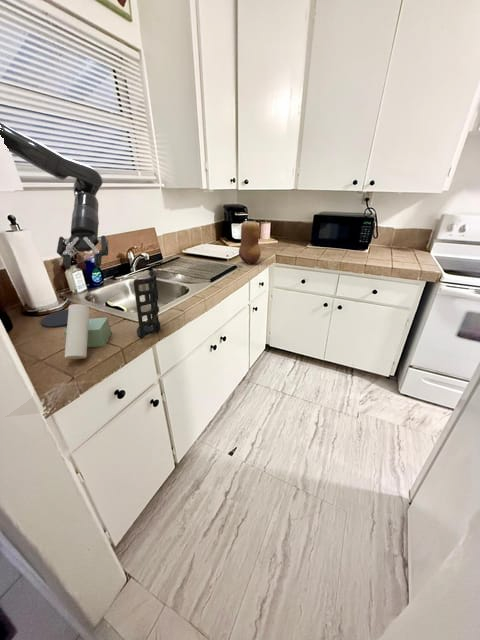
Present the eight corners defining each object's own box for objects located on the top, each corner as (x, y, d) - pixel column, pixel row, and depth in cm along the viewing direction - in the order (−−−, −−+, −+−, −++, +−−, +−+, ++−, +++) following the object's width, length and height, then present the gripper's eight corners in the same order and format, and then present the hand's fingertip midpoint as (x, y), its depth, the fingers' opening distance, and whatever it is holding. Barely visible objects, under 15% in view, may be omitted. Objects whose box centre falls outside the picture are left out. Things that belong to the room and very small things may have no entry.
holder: (141, 321, 94) (137, 268, 85) (163, 322, 95) (160, 270, 86) (133, 338, 85) (127, 280, 75) (157, 339, 86) (153, 282, 76)
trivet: (33, 329, 91) (32, 327, 90) (52, 311, 103) (52, 310, 103) (76, 326, 92) (75, 324, 92) (90, 309, 105) (89, 307, 104)
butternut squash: (264, 262, 165) (266, 221, 153) (251, 267, 156) (252, 223, 144) (247, 259, 173) (248, 219, 161) (234, 263, 164) (233, 221, 152)
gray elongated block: (64, 367, 72) (46, 322, 65) (84, 340, 84) (70, 299, 77) (84, 365, 72) (69, 320, 66) (101, 338, 85) (89, 298, 78)
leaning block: (70, 348, 80) (64, 332, 77) (80, 335, 87) (74, 319, 84) (104, 346, 81) (99, 329, 78) (111, 333, 88) (107, 317, 85)
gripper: (55, 215, 81) (50, 262, 76) (103, 214, 83) (101, 259, 78) (68, 230, 88) (63, 273, 83) (112, 229, 90) (110, 271, 85)
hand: (82, 267), depth 81 cm, fingers open, 8 cm apart
